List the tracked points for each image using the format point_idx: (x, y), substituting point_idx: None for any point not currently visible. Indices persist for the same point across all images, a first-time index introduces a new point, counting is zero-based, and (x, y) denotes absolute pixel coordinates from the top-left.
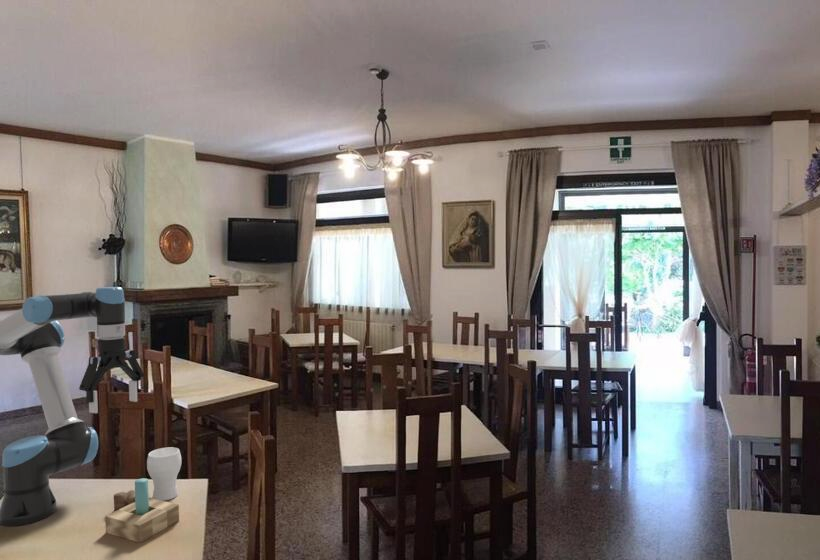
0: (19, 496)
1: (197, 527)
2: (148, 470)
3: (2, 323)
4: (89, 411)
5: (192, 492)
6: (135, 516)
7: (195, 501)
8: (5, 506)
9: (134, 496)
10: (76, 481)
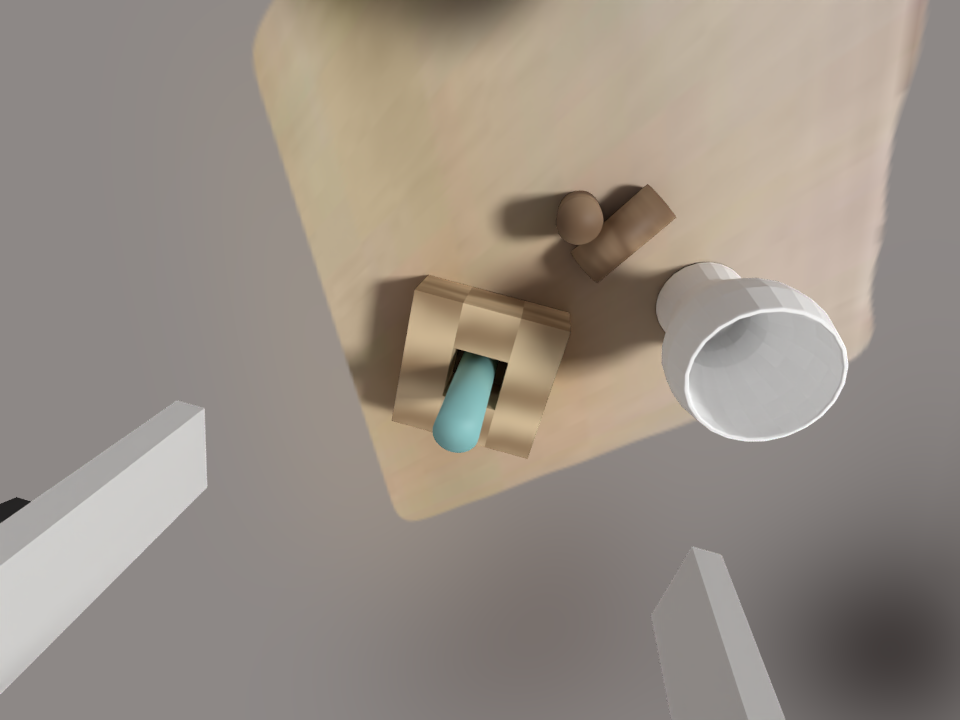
0: None
1: (504, 486)
2: (679, 310)
3: None
4: (170, 407)
5: None
6: (433, 382)
7: (658, 418)
8: None
9: (610, 256)
10: None
